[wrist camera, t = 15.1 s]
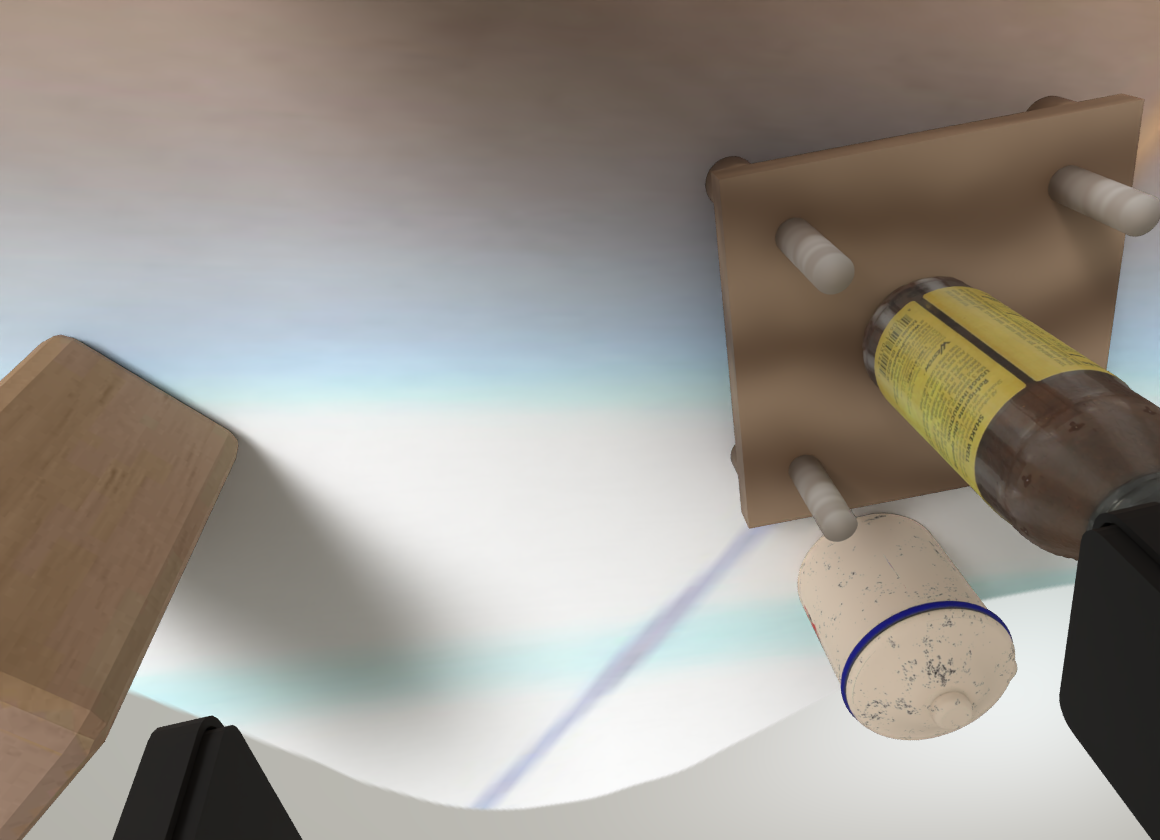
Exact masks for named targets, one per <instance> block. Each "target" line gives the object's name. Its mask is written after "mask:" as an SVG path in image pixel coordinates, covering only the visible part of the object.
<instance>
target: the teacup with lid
mask: <svg viewBox="0 0 1160 840" xmlns="http://www.w3.org/2000/svg"><path fill="white" fill-rule="evenodd" d="M856 519H857V522H858V526H857V529H856V531H855V533H854V534H853V535H852V536H851V537H849V538H848V539H846V540H844V541H840V542H833V541H830V540H828V539H826V538H825V536H822V537H821V538H820V539H819V540H818V541H817V542H816V543H815V544H814V545H813V547H812V548H811V549H810V550H809V552H808V553H807V555H806V557H805V558H804V560H803V562H802V565H801V567H800V570H799V575H798V582H797V584H798V594H799V598H800V601H801V603H802V606H803V608H804V610H805V612H806V614H807V616H808V618H809V620H810V622H811V624H812V626H813V628H814V630H815V633H816V635H817V637H818V639H819V641H820V643H821V645H822V647H823V649H824V651H825V653H826V655H827V657H828V659H829V662H830V664H831V666H832V668H833V670H834V672H835V674H836V676H837V678H838V680H839V682H840V684H841V694H842V697H843V701H844V703H845V705H846V707H847V709H848V710H849V712H850V713H851V714H852V716H853V717H855V718H856V719H857V720H858V721H859V722H860V723H861V724H862V725H864V726H865V727H866V728H868V729H870V730H871V731H873V732H875V733H877V734H880V735H882V736H885V737H889V738H893V739H901V740H922V739H928V738H934V737H938V736H941V735H945V734H948V733H951V732H953V731H956V730H958V729H960V728H962V727H964V726H966V725H968V724H970V723H971V722H973V721H974V720H976V719H978V718H979V717H980V716H982V715H983V714H984V713H985V712H987V711H988V710H989V709H990V708H991V707H992V706H993V705H994V704H995V703H996V702H997V701H998V700H999V698H1000V697H1001V696H1002V694H1003V693H1004V691H1005V690H1006V688H1007V686H1008V684H1009V682H1010V681H1011V679H1012V678H1013V677H1014V676H1015V674H1016V672H1017V664H1016V661H1015V649H1014V645H1013V641H1012V637H1011V634H1010V632H1009V630H1008V628H1007V626H1006V625H1005V624H1004V622H1003V621H1002V620H1001V619H1000V618H999V617H998V616H997V615H996V614H994V613H993V612H991V611H990V610H988V609H987V608H986V606H985V605H984V604H983V602H982V601H981V600H980V598H979V597H978V596H977V594H976V593H975V592H974V591H973V589H972V588H971V587H970V585H969V584H968V583H967V581H966V580H965V579H964V577H963V576H962V575H961V573H960V572H959V571H958V569H957V568H956V567H955V565H954V564H953V563H952V561H951V560H950V559H949V557H948V556H947V555H946V553H945V552H944V551H943V549H942V548H941V547H940V545H939V544H938V543H937V541H936V540H935V539H934V537H933V536H932V535H931V534H930V532H929V531H928V530H927V529H926V528H924V527H923V526H922V525H921V524H919V523H918V522H916V521H914V520H912V519H909V518H907V517H904V516H900V515H895V514H871V515H865V516H861V517H857V518H856Z"/></svg>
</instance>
